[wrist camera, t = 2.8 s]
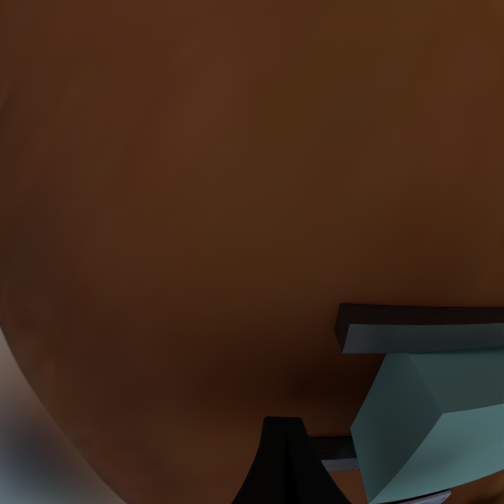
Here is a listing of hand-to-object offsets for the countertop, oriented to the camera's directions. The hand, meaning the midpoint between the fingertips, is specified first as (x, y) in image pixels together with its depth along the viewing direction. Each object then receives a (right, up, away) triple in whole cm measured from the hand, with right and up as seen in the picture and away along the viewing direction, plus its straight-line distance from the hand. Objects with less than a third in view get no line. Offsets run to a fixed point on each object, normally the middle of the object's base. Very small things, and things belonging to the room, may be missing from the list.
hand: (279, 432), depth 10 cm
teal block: (+9, 0, +2) cm, 9 cm away
